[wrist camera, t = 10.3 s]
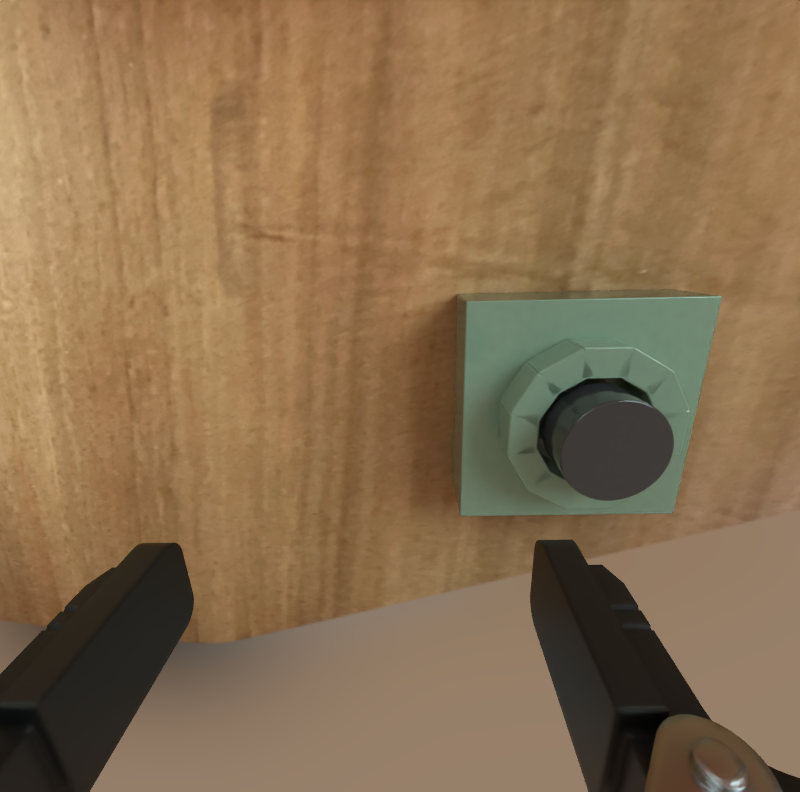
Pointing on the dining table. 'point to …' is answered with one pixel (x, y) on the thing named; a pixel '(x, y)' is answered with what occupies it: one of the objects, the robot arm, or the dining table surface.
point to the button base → (568, 388)
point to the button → (607, 441)
